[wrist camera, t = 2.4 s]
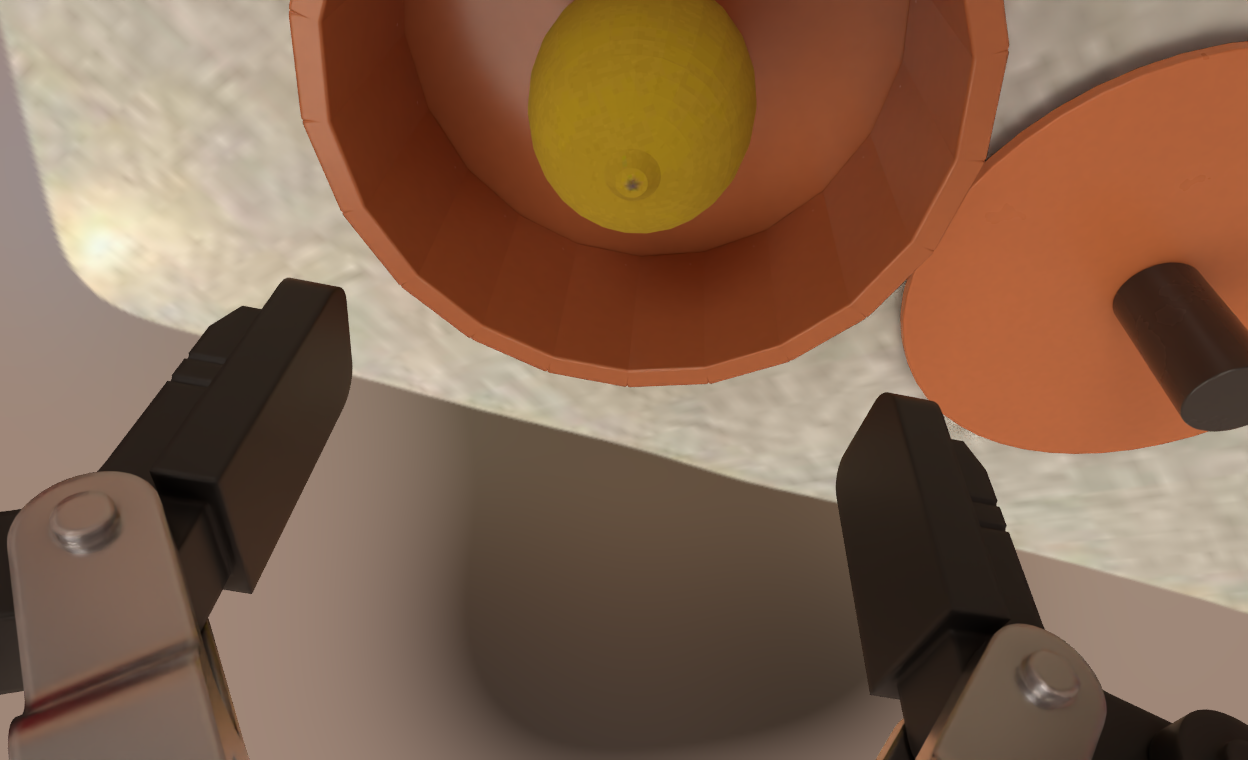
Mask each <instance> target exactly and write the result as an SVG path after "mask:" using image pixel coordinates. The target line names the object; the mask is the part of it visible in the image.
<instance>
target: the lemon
mask: <svg viewBox="0 0 1248 760" xmlns="http://www.w3.org/2000/svg"><path fill="white" fill-rule="evenodd" d="M756 108H757V100H756V86H755V72H754V67H753V64H752V61H751V58H750V56H749V53H748V50H747V47H746V44H745V41H744V39H743V36H742V34H741V33H740V31H739V30H738V28H737V27H736V25H735V24H734V22H733V21H732V19H731V18H730V17H729V15H728V14H727V12H726V11H725V9H724V8H723V7H722V6H721V5H719V4H718V3H717V2H716V1H715V0H574V1H573V2H572V3H571V4H569V5H568V6H567V7H566V8H565V9H564V10H563V12H562V13H561V14H560V16H559V17H558V18H557V20H556V21H555V23H554V24H553V25H552V27H551V28H550V29H549V31H548V32H547V33H546V35H545V37H544V39H543V41H542V44H541V47H540V49H539V52H538V55H537V57H536V60H535V63H534V65H533V68H532V72H531V79H530V89H529V100H528V118H529V124H530V131H531V137H532V144H533V149H534V152H535V155H536V157H537V159H538V162H539V164H540V166H541V168H542V171H543V173H544V175H545V177H546V179H547V181H548V182H549V183H550V185H551V186H552V187H553V189H554V190H555V191H556V193H557V194H558V195H559V197H560V198H561V199H562V201H564V202H565V203H566V204H567V205H568V206H570V207H571V208H572V209H573V210H574V211H576V212H577V213H578V214H579V215H580V216H582V217H584V218H586V219H588V220H590V221H592V222H594V223H596V224H598V225H600V226H602V227H604V228H608V229H612V230H616V231H620V232H624V233H652V232H657V231H663V230H668V229H672V228H674V227H676V226H679V225H681V224H683V223H686V222H688V221H690V220H692V219H694V218H695V217H696V216H698V215H699V214H700V213H702V212H703V211H705V210H706V209H707V208H709V207H710V206H711V205H712V204H713V203H715V202H716V200H717V199H718V198H719V197H720V196H721V194H722V193H723V192H724V191H725V189H726V188H727V187H728V186H729V185H730V183H731V182H732V181H733V179H734V178H735V175H736V173H737V171H738V169H739V167H740V165H741V162H742V160H743V158H744V156H745V154H746V152H747V150H748V147H749V144H750V141H751V135H752V130H753V125H754V119H755V114H756Z"/></svg>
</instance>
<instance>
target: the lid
mask: <svg viewBox="0 0 1248 760" xmlns="http://www.w3.org/2000/svg"><path fill="white" fill-rule="evenodd" d="M900 319H901V338H902V342H903V347H904V351H905V355H906V359H907V362H908V365H909V367H910V370H911V372H912V374H913V376H914V379H915V381H916V383H917V384H918V386H919V387H920V388H921V390H922V391H923V393H924V394H925V396H926V397H927V399H928V400H930V401H934V402H936V403H937V404H938V405H939V407H940V408H941V411H942V413H943V414H944V415H945V416H947V417H948V418H950V419H951V420H952V421H954V422H955V423H957V424H958V425H959V426H961V427H963V428H965V429H967V430H969V431H971V432H973V433H975V434H977V435H979V436H981V437H984V438H987V439H990V440H992V441H995V442H998V443H1001V444H1005V445H1009V446H1013V447H1017V448H1021V449H1027V450H1034V451H1041V452H1048V453H1069V454H1084V453H1106V452H1115V451H1124V450H1133V449H1139V448H1144V447H1149V446H1155V445H1160V444H1165V443H1169V442H1173V441H1177V440H1180V439H1184V438H1188V437H1192V436H1196V435H1199V434H1202V433H1205V432H1208V431H1226V430H1231V429H1236V428H1240V427H1243V426H1246V425H1248V41H1245V42H1236V43H1227V44H1223V45H1218V46H1213V47H1209V48H1204V49H1200V50H1195V51H1191V52H1186V53H1182V54H1179V55H1176V56H1173V57H1170V58H1167V59H1164V60H1161V61H1158V62H1155V63H1152V64H1149V65H1146V66H1142V67H1139V68H1137V69H1135V70H1132V71H1130V72H1128V73H1125V74H1123V75H1121V76H1119V77H1116V78H1114V79H1112V80H1109V81H1107V82H1105V83H1102V84H1100V85H1098V86H1096V87H1094V88H1092V89H1090V90H1088V91H1087V92H1085V93H1083V94H1081V95H1079V96H1078V97H1076V98H1074V99H1072V100H1070V101H1068V102H1067V103H1065V104H1063V105H1061V106H1059V107H1058V108H1056V109H1054V110H1053V111H1051V112H1050V113H1048V114H1047V115H1045V116H1044V117H1043V118H1041V119H1040V120H1038V121H1037V122H1035V123H1034V124H1032V125H1031V126H1029V127H1028V128H1026V129H1025V130H1023V131H1022V132H1020V133H1019V134H1018V135H1017V136H1016V137H1014V138H1013V139H1012V140H1011V141H1009V142H1008V143H1007V144H1006V145H1005V146H1003V147H1002V148H1001V149H1000V150H998V151H997V152H996V153H995V154H994V155H992V156H991V157H990V158H989V159H988V160H987V161H986V162H985V163H984V165H983V167H982V168H981V170H980V172H979V174H978V175H977V177H976V179H975V181H974V183H973V184H972V186H971V188H970V190H969V191H968V193H967V195H966V197H965V198H964V200H963V202H962V204H961V205H960V207H959V209H958V211H957V212H956V214H955V216H954V218H953V220H952V221H951V223H950V225H949V227H948V228H947V230H946V232H945V234H944V235H943V237H942V239H941V241H940V242H939V244H938V246H937V248H936V249H935V250H934V252H933V254H932V255H931V256H930V257H929V258H928V259H927V260H926V261H925V262H924V263H923V264H922V265H921V266H919V267H918V268H917V269H916V270H915V271H914V272H913V273H912V274H911V275H910V276H909V277H908V278H907V281H906V284H905V288H904V291H903V299H902V306H901V314H900Z"/></svg>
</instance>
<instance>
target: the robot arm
mask: <svg viewBox="0 0 1248 760" xmlns="http://www.w3.org/2000/svg"><path fill="white" fill-rule="evenodd" d="M351 379H352V355H351V344H350V334H349V323H348V312H347V301H346V295H345V292H344V290H343V289H342V288H341V287H336V286H331V285H325V284H320V283H315V282H310V281H304V280H299V279H294V278H286V279H284V280H283V281H282V282H281V283H280V284H279V285H278V287H277V288H276V290H275V291H274V293H273V294H272V295H271V297H270V298H269V300H268V301H267V303H266V304H265V305H264V307H263V308H262V309H257V308H252V307H246V306H241V307H239V308H238V309H236V310H235V311H233V312H231V313H230V314H228V315H227V316H225V317H223V318H222V319H220V320H219V321H217V322H215V323H214V324H212V325H210V326H209V327H208V329H207V330H206V331H205V332H204V334H203V335H202V336H201V338H200V339H199V340H198V342H197V343H196V344H195V346H194V347H193V348H192V350H191V351H190V352H189V357H188V359H184V360H183V361H182V363H181V364H180V365H179V367H178V368H177V369H176V370H175V372H174V373H173V374H172V379H171V381H167V382H166V384H165V385H164V386H163V388H162V389H161V390H160V392H159V393H158V394H157V395H156V397H155V398H154V399H153V401H152V402H151V403H150V405H149V406H148V407H147V409H146V410H145V411H144V412H143V414H142V415H141V416H140V418H139V419H138V420H137V422H136V423H135V424H134V426H133V427H132V428H131V430H130V431H129V432H128V433H127V435H126V436H125V437H124V439H123V440H122V441H121V443H120V444H119V445H118V446H117V448H116V449H115V450H114V452H113V453H112V454H111V456H110V457H109V458H108V460H107V461H106V462H105V463H104V465H103V466H102V467H101V468H100V469H99V470H98V471H97V472H93V473H88V474H83V475H79V476H75V477H72V478H69V479H66V480H64V481H62V482H59V483H57V484H55V485H53V486H51V487H49V488H48V489H46V490H44V491H43V492H41V493H40V494H38V495H37V496H36V497H34V498H33V499H32V500H31V501H30V502H29V503H27V504H26V505H25V506H24V507H23V508H22V509H18V510H12V511H5V512H0V695H1V694H6V693H13V692H19V691H24V696H25V708H24V712H23V714H22V715H20V716H18V717H15V718H14V719H13V721H12V722H11V724H10V729H9V736H8V754H9V760H249V757H248V753H247V750H246V747H245V744H244V741H243V737H242V734H241V730H240V727H239V723H238V720H237V716H236V713H235V709H234V706H233V702H232V699H231V695H230V692H229V688H228V685H227V682H226V678H225V674H224V671H223V667H222V664H221V661H220V657H219V654H218V650H217V646H216V643H215V640H214V636H213V633H212V629H211V626H210V622H209V619H208V617H209V614H210V613H211V611H212V609H213V607H214V605H215V603H216V601H217V599H218V598H219V596H220V594H221V592H222V590H223V589H224V590H230V591H236V592H242V593H249V594H252V592H253V590H254V588H255V586H256V584H257V582H258V580H259V578H260V576H261V574H262V572H263V570H264V568H265V566H266V564H267V562H268V560H269V558H270V556H271V554H272V552H273V550H274V548H275V546H276V544H277V542H278V540H279V538H280V535H281V534H282V532H283V529H284V527H285V525H286V523H287V521H288V519H289V517H290V515H291V513H292V511H293V509H294V507H295V505H296V503H297V501H298V499H299V497H300V495H301V493H302V491H303V489H304V487H305V485H306V483H307V481H308V479H309V477H310V474H311V473H312V471H313V468H314V466H315V464H316V462H317V460H318V458H319V456H320V454H321V452H322V450H323V448H324V446H325V444H326V442H327V440H328V438H329V436H330V434H331V432H332V430H333V428H334V426H335V424H336V422H337V420H338V418H339V416H340V413H341V411H342V409H343V407H344V405H345V403H346V400H347V397H348V394H349V390H350V385H351ZM836 496H837V503H838V508H839V514H840V520H841V526H842V532H843V538H844V544H845V549H846V556H847V561H848V567H849V573H850V579H851V585H852V591H853V597H854V602H855V609H856V614H857V620H858V626H859V632H860V638H861V644H862V650H863V656H864V662H865V667H866V673H867V679H868V685H869V691H870V695H874V696H880V697H887V698H893V699H900V702H901V707H902V712H903V717H904V718H903V719H902V720H901V721H900V722H899V723H898V724H897V725H896V727H895V728H894V729H893V731H892V733H891V735H890V736H889V738H888V740H887V741H886V743H885V745H884V746H883V748H882V750H881V752H880V753H879V755H878V757H877V758H876V760H1248V725H1246V724H1245V723H1243V722H1241V721H1240V720H1238V719H1236V718H1234V717H1232V716H1229V715H1227V714H1224V713H1221V712H1218V711H1213V710H1197V711H1194V712H1191V713H1189V714H1188V715H1186V716H1184V717H1182V718H1180V719H1179V720H1177V721H1175V722H1174V723H1170V722H1168V721H1166V720H1164V719H1162V718H1160V717H1158V716H1155V715H1154V714H1152V713H1149V712H1147V711H1145V710H1143V709H1141V708H1139V707H1137V706H1134V705H1132V704H1130V703H1128V702H1126V701H1124V700H1121V699H1120V698H1117V697H1115V696H1113V695H1111V694H1109V693H1108V692H1106V691H1104V690H1103V689H1102V687H1101V684H1100V683H1099V680H1098V679H1097V677H1096V675H1095V673H1094V672H1093V670H1092V669H1091V667H1090V666H1089V665H1088V664H1087V662H1086V661H1085V660H1084V659H1083V657H1082V656H1081V655H1080V654H1079V653H1078V652H1077V651H1076V650H1075V649H1074V648H1073V647H1071V646H1070V645H1069V644H1067V643H1066V642H1065V641H1064V640H1062V639H1061V638H1059V637H1058V636H1056V635H1054V634H1052V633H1051V632H1048V631H1046V630H1045V629H1044V627H1043V624H1042V621H1041V619H1040V616H1039V613H1038V610H1037V608H1036V605H1035V602H1034V600H1033V597H1032V594H1031V591H1030V589H1029V586H1028V583H1027V580H1026V578H1025V575H1024V572H1023V570H1022V567H1021V564H1020V561H1019V559H1018V556H1017V553H1016V550H1015V548H1014V545H1013V542H1012V539H1011V537H1010V534H1009V532H1006V531H1005V528H1006V523H1005V520H1004V518H1003V515H1002V512H1001V509H1000V507H997V506H996V503H997V499H996V496H995V493H994V490H993V488H992V485H991V482H990V479H989V477H988V474H987V471H986V470H985V468H984V467H983V466H982V464H981V463H980V462H979V461H978V459H977V458H976V457H975V456H974V454H973V453H972V452H971V450H970V449H969V448H968V447H967V445H966V444H965V443H964V442H963V441H959V440H953V439H951V438H950V435H949V432H948V429H947V426H946V423H945V420H944V417H943V414H942V411H941V408H940V407H939V405H938V404H937V403H936V402H934V401H930V400H925V399H920V398H914V397H909V396H904V395H898V394H893V393H888V392H886V393H883V394H881V395H880V396H879V397H878V398H877V399H876V401H875V403H874V404H873V406H872V408H871V409H870V411H869V413H868V414H867V416H866V418H865V419H864V421H863V423H862V424H861V426H860V428H859V429H858V431H857V433H856V435H855V436H854V438H853V440H852V441H851V443H850V445H849V446H848V448H847V450H846V451H845V453H844V455H843V457H842V459H841V462H840V465H839V468H838V472H837V479H836Z"/></svg>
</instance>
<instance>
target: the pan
mask: <svg viewBox="0 0 1248 760" xmlns="http://www.w3.org/2000/svg"><path fill="white" fill-rule="evenodd" d="M573 1H574V0H290V3H289V9H290V11H289V20H290V28H291V37H292V45H293V53H294V62H295V70H296V78H297V87H298V95H299V103H300V112H301V118H302V119H303V125H304V127H305V129H306V132H307V134H308V136H309V139H310V141H311V143H312V146H313V148H314V150H315V152H316V155H317V157H318V159H319V162H320V164H321V166H322V168H323V171H324V173H325V175H326V178H327V180H328V182H329V185H330V187H331V189H332V191H333V194H334V196H335V198H336V201H337V203H338V205H339V207H340V210H341V211H342V212H343V215H344V217H345V218H346V219H347V220H348V222H349V223H350V224H351V225H352V227H353V228H354V229H355V230H356V232H357V233H358V234H359V235H360V237H361V238H362V239H363V240H364V242H365V243H366V244H367V245H368V246H369V248H370V249H371V250H372V251H373V253H374V254H375V255H376V256H377V258H378V259H379V260H380V261H381V263H382V264H383V265H384V266H385V268H386V269H387V270H388V271H389V273H390V274H391V275H392V276H393V278H394V279H395V280H396V281H397V283H398V284H399V285H401V286H402V288H404V289H405V290H406V291H408V292H409V293H410V294H412V295H413V296H414V297H416V298H417V299H418V300H419V301H421V302H422V303H423V304H425V305H426V306H427V307H429V308H430V309H431V310H433V311H434V312H435V313H437V314H438V315H439V316H441V317H442V318H443V319H445V320H446V321H447V322H449V323H450V324H451V325H453V326H454V327H455V328H457V329H458V330H459V331H461V332H462V333H463V334H465V335H466V336H467V337H469V338H472V339H473V340H475V341H477V342H479V343H482V344H484V345H486V346H488V347H491V348H493V349H495V350H498V351H500V352H502V353H504V354H507V355H509V356H511V357H514V358H516V359H518V360H520V361H523V362H525V363H527V364H530V365H532V366H534V367H536V368H539V369H541V370H543V371H547V370H548V372H549V373H554V374H560V375H565V376H570V377H576V378H581V379H586V380H592V381H597V382H602V383H608V384H613V385H618V386H624V387H626V386H627V385H628V387H644V386H667V385H691V384H707V383H710V384H712V383H715V382H719V381H722V380H726V379H729V378H733V377H737V376H740V375H744V374H747V373H751V372H754V371H758V370H761V369H765V368H769V367H772V366H776V365H779V364H783V363H786V362H789V361H790V360H793V359H795V358H797V357H799V356H801V355H802V354H804V353H806V352H808V351H809V350H811V349H813V348H815V347H816V346H818V345H820V344H822V343H823V342H825V341H827V340H829V339H830V338H832V337H834V336H836V335H837V334H839V333H841V332H843V331H845V330H846V329H848V328H850V327H852V326H853V325H855V324H857V323H859V322H860V321H862V320H864V319H865V318H866V317H868V316H869V315H870V314H871V313H872V312H873V311H875V310H876V309H877V308H878V307H879V306H880V305H881V304H882V303H883V302H884V301H885V300H886V299H887V298H888V297H889V296H890V295H891V294H892V293H893V292H894V291H895V290H896V289H897V288H898V287H899V286H900V285H901V284H902V283H903V282H904V281H905V280H906V279H907V278H908V277H909V276H910V275H911V274H912V273H913V272H914V271H915V270H916V269H917V268H918V267H919V266H921V265H922V264H923V263H924V262H925V261H926V260H927V259H928V258H929V257H930V256H931V255H932V254H933V252H934V250H935V249H936V248H937V246H938V244H939V242H940V241H941V239H942V237H943V235H944V234H945V232H946V230H947V228H948V227H949V225H950V223H951V221H952V220H953V218H954V216H955V214H956V212H957V211H958V209H959V207H960V205H961V204H962V202H963V200H964V198H965V197H966V195H967V193H968V191H969V190H970V188H971V186H972V184H973V183H974V181H975V179H976V177H977V175H978V174H979V172H980V170H981V168H982V167H983V165H984V160H985V159H986V157H987V152H988V148H989V143H990V138H991V134H992V129H993V124H994V119H995V115H996V110H997V105H998V101H999V96H1000V91H1001V87H1002V82H1003V77H1004V72H1005V68H1006V63H1007V58H1008V54H1009V52H1008V48H1009V38H1008V31H1007V23H1006V15H1005V7H1004V0H715V1H716V2H717V3H718V4H719V5H721V6H722V7H723V8H724V9H725V11H726V12H727V14H728V15H729V17H730V18H731V19H732V21H733V22H734V24H735V25H736V27H737V28H738V30H739V31H740V33H741V34H742V36H743V39H744V41H745V44H746V47H747V50H748V53H749V56H750V58H751V61H752V64H753V67H754V72H755V86H756V100H757V108H756V114H755V119H754V125H753V130H752V135H751V141H750V144H749V147H748V150H747V152H746V154H745V156H744V158H743V160H742V162H741V165H740V167H739V169H738V171H737V173H736V175H735V178H734V179H733V181H732V182H731V183H730V185H729V186H728V187H727V188H726V189H725V191H724V192H723V193H722V194H721V196H720V197H719V198H718V199H717V200H716V202H715V203H713V204H712V205H711V206H710V207H709V208H707V209H706V210H705V211H703V212H702V213H700V214H699V215H698V216H696V217H695V218H694V219H692V220H690V221H688V222H686V223H683V224H681V225H679V226H676V227H674V228H672V229H668V230H663V231H657V232H652V233H624V232H620V231H616V230H612V229H608V228H604V227H602V226H600V225H598V224H596V223H594V222H592V221H590V220H588V219H586V218H584V217H582V216H580V215H579V214H578V213H577V212H576V211H574V210H573V209H572V208H571V207H570V206H568V205H567V204H566V203H565V202H564V201H562V199H561V198H560V197H559V195H558V194H557V193H556V191H555V190H554V189H553V187H552V186H551V185H550V183H549V182H548V181H547V179H546V177H545V175H544V173H543V171H542V168H541V166H540V164H539V162H538V159H537V157H536V155H535V152H534V149H533V144H532V137H531V131H530V124H529V118H528V100H529V89H530V79H531V72H532V68H533V65H534V63H535V60H536V57H537V55H538V52H539V49H540V47H541V44H542V41H543V39H544V37H545V35H546V33H547V32H548V31H549V29H550V28H551V27H552V25H553V24H554V23H555V21H556V20H557V18H558V17H559V16H560V14H561V13H562V12H563V10H564V9H565V8H566V7H567V6H568V5H569V4H571V3H572V2H573Z"/></svg>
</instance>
